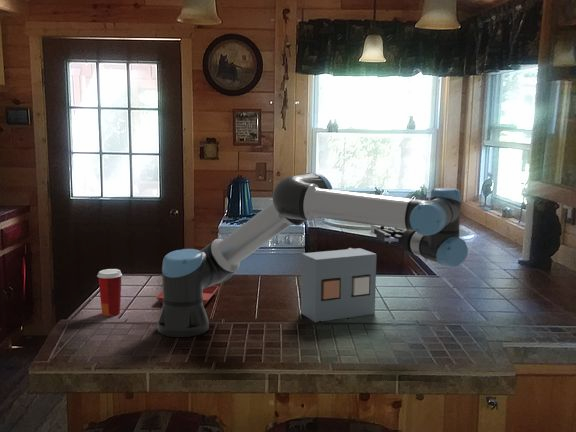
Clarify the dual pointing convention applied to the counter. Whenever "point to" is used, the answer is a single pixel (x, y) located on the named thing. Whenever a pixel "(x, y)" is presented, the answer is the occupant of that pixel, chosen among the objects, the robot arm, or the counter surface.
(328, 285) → the rust button
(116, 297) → the paper cup
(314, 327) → the counter surface
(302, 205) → the robot arm
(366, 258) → the box
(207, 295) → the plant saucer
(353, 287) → the cream button
